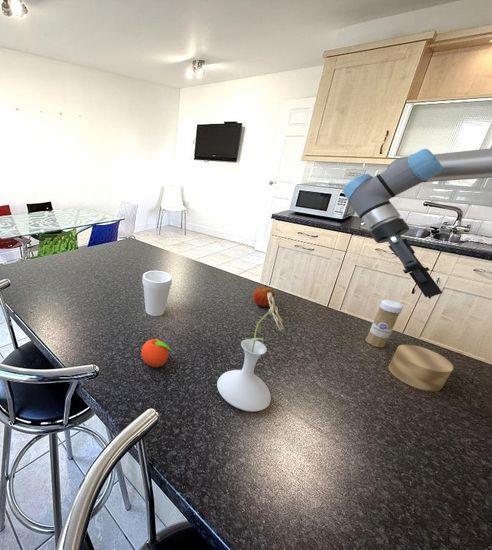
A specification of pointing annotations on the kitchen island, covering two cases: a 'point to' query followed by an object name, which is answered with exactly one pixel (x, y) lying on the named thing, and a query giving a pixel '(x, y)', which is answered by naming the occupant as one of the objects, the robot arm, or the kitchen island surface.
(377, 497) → the kitchen island surface
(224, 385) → the flower in vase
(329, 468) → the kitchen island surface
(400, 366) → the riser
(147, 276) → the foam cup
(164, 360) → the clementine
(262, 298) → the fruit
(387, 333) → the sprinkles bottle
